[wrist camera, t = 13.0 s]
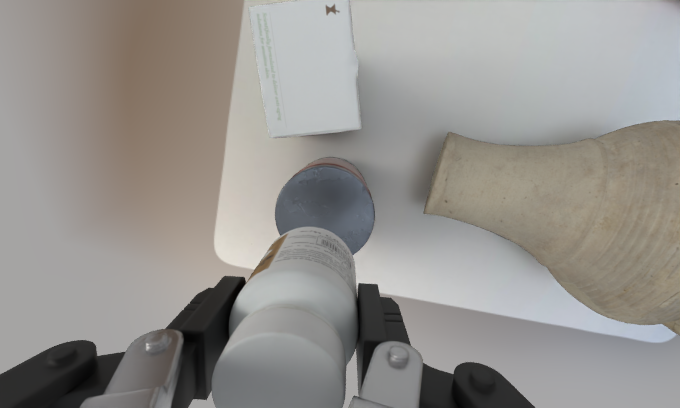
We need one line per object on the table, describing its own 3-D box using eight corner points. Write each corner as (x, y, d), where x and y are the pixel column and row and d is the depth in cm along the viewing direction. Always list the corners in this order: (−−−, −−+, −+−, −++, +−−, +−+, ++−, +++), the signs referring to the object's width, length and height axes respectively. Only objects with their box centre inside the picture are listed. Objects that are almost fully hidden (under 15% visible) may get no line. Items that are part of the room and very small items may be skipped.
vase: (347, 299, 26) (762, 450, 20) (423, -7, 18) (1157, 98, 12) (387, 211, 45) (602, 275, 40) (432, 48, 37) (709, 98, 32)
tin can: (294, 225, 38) (273, 261, 27) (295, 154, 36) (274, 162, 25) (364, 229, 38) (371, 266, 27) (369, 158, 36) (379, 168, 25)
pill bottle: (263, 224, 15) (179, 315, 7) (355, 224, 15) (365, 316, 7) (268, 307, 16) (198, 463, 8) (354, 307, 16) (363, 465, 8)
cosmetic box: (288, 59, 34) (241, -3, 19) (349, 52, 34) (351, -17, 18) (298, 137, 36) (263, 140, 20) (356, 131, 35) (364, 129, 20)
